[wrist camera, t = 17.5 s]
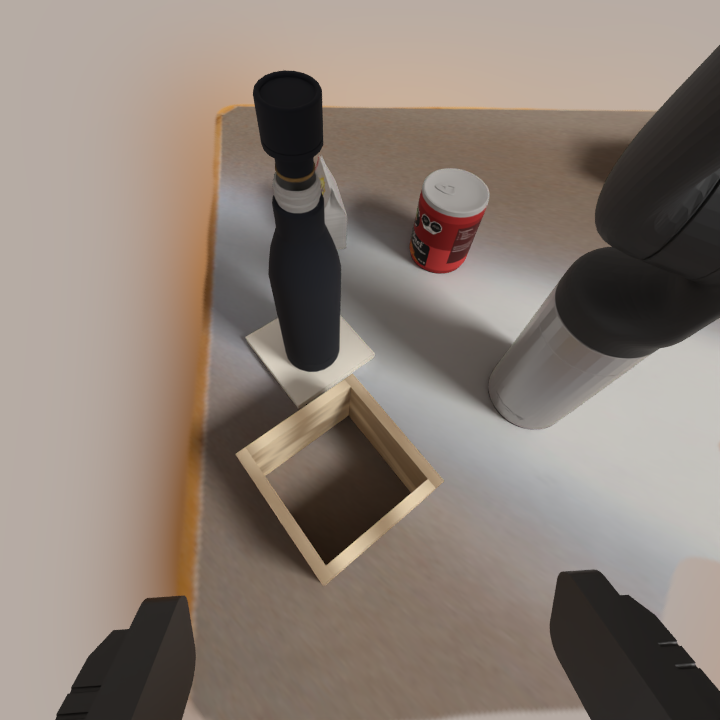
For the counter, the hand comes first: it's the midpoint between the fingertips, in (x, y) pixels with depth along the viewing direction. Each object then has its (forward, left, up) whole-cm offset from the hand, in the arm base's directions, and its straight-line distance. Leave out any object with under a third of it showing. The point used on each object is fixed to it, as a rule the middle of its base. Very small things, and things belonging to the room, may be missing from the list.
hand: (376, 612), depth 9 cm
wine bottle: (-12, -22, -34) cm, 42 cm away
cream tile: (-12, -23, -35) cm, 43 cm away
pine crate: (-5, -8, -35) cm, 36 cm away
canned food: (-35, -25, -35) cm, 56 cm away
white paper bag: (-25, -37, -35) cm, 57 cm away
